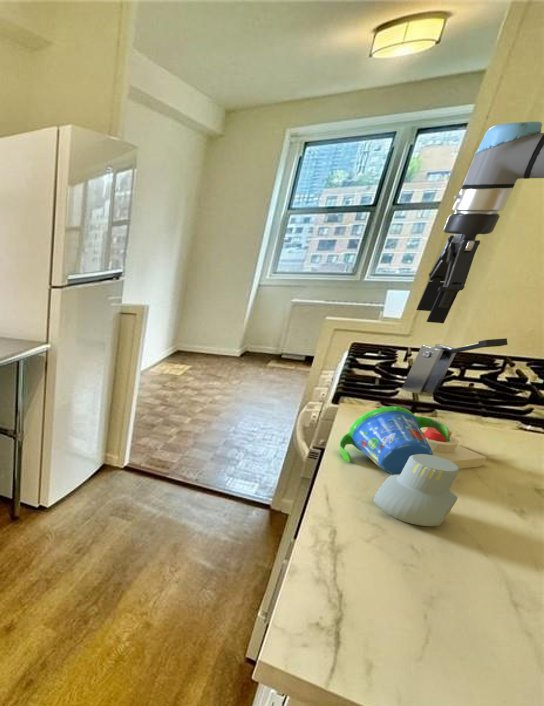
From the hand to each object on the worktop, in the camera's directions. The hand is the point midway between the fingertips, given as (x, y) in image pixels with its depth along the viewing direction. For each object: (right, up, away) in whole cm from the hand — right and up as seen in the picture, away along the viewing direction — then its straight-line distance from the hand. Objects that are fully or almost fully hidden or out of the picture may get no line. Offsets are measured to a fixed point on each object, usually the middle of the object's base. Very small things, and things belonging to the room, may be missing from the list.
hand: (429, 316), depth 110 cm
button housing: (-14, -31, -13) cm, 37 cm away
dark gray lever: (+10, -8, +3) cm, 14 cm away
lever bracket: (+10, -17, +13) cm, 23 cm away
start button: (-14, -28, -15) cm, 35 cm away
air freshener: (-34, -41, -30) cm, 62 cm away
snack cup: (-27, -33, -23) cm, 48 cm away
